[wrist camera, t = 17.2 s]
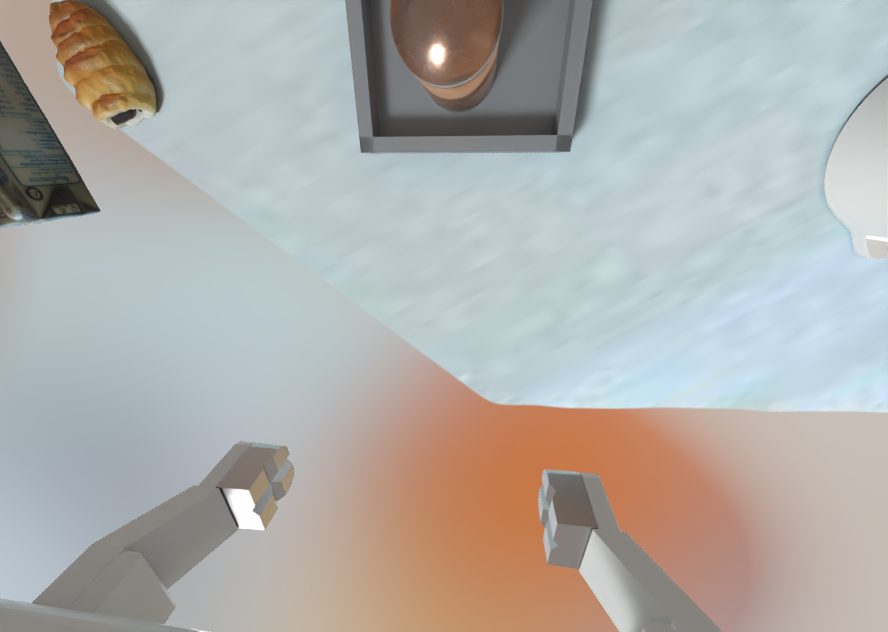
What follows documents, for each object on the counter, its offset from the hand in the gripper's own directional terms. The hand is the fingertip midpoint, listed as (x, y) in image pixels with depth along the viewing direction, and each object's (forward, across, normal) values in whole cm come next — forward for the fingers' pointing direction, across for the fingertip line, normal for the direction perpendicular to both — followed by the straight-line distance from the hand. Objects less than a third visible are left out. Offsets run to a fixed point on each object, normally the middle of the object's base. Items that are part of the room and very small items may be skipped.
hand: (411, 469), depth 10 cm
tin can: (+26, 0, -16) cm, 31 cm away
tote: (+27, 0, -16) cm, 31 cm away
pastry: (+28, +34, -16) cm, 46 cm away
